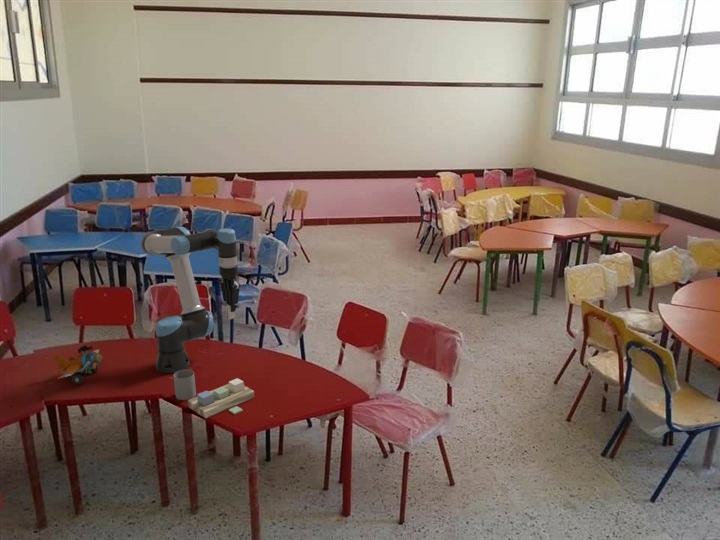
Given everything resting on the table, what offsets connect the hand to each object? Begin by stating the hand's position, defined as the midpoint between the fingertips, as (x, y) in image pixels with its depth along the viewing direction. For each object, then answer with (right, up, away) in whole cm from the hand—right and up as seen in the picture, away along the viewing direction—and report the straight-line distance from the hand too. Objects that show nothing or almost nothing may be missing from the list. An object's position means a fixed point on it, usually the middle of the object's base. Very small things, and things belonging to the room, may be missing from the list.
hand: (231, 318), depth 250 cm
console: (-2, -34, -8) cm, 35 cm away
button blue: (-7, -34, -14) cm, 37 cm away
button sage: (-2, -33, -9) cm, 35 cm away
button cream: (+3, -31, -4) cm, 31 cm away
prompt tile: (+5, -36, -15) cm, 40 cm away
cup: (-19, -33, -3) cm, 38 cm away
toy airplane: (-71, -28, +12) cm, 77 cm away
